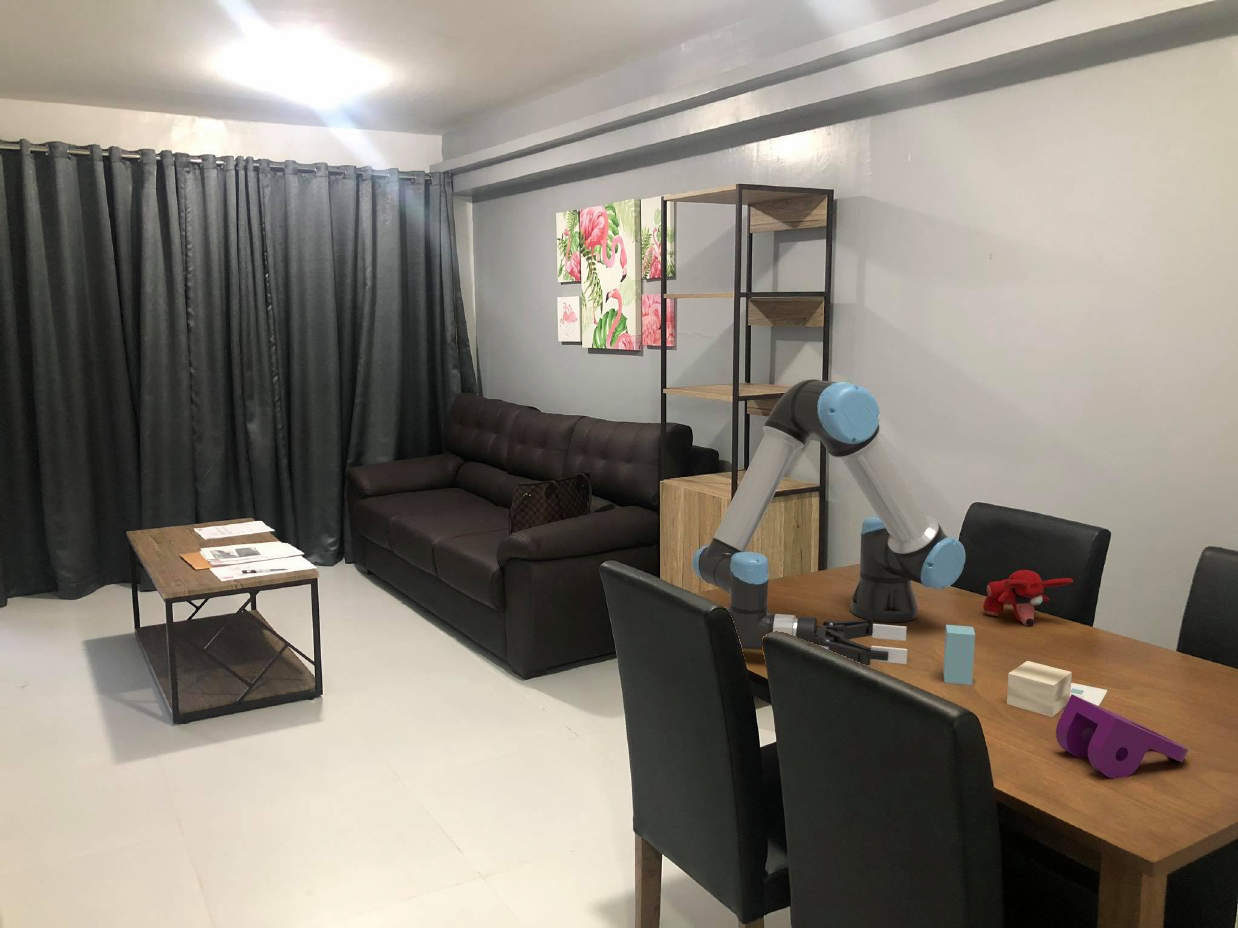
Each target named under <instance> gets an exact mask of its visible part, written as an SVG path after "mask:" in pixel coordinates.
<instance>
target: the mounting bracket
mask: <svg viewBox="0 0 1238 928" xmlns="http://www.w3.org/2000/svg"><path fill="white" fill-rule="evenodd" d="M1055 728H1056V729H1055V737H1056V741H1057V743H1058V745H1059V746H1060V747H1061V749H1062V750H1064V751H1065V752H1067V753H1069V754H1071V755H1072V756H1074V757H1075V758H1085V757H1088V761H1089V763H1090V765H1091V767H1093V768H1094V769H1095V770H1096V771H1097V772H1099V773H1101V774H1103V775H1104V776H1106V778H1110V779H1112V780H1113V779H1114V780H1115V779H1120V778H1128V777H1129V776H1131V775H1132V774H1133V773H1135V772H1136V770H1137V769H1138V768H1139V766H1140V765H1141V763H1142V761H1143V760H1144V757H1145V755H1146V753H1147V751H1148V750H1152V751H1155V752H1157V753H1160V754H1162V755H1164V756H1166V757H1168V758H1170V759H1173V760H1176V761H1178V762H1181V763H1183V762H1184V759H1185V757H1187V756H1186V755H1187V754H1188V752H1189V749H1188V748H1186V747H1185V746H1183V745H1181V744H1179V743H1178V742H1175V741H1174V740H1172V739H1170V738H1168V737H1166V736H1164V735H1162V734H1160V733H1158V732H1155V730H1152V729H1150V728H1147V727H1146V726H1143V725H1142V724H1140V723H1138V722H1135V721H1133V720H1131V719H1128V718H1127V717H1124V716H1122V715H1120V714H1117V713H1114V712H1112V711H1111V710H1108V709H1106V708H1103V707H1101V706H1100V705H1099V706H1097V705H1095V704H1093V703H1090V702H1088V701H1086V700H1084V699H1082V698H1079V697H1077V696H1075V695H1073V694H1072V695H1071V697H1070V699H1069V701H1068V703H1067V705H1066V707H1065V708H1063V711H1062V713H1061V715H1060V717H1059V719H1058V721H1057V724H1056V727H1055Z"/></svg>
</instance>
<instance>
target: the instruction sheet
mask: <svg viewBox="0 0 1238 928" xmlns="http://www.w3.org/2000/svg"><path fill="white" fill-rule="evenodd" d="M1107 692H1108V689H1103V688H1100V687H1099V688H1098V687H1094V686H1089V685H1085V684H1080V683H1075V682H1071V692H1070V697H1071V695H1072V694H1073V695H1075V696H1077V697H1079V698H1082V699H1084V700H1086V701H1088V702H1090V703H1093V704H1095V705H1097V706H1099V707H1100V704H1101V703H1102V701H1103V699H1104V698H1105V696H1106V694H1107Z"/></svg>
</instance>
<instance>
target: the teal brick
mask: <svg viewBox="0 0 1238 928" xmlns="http://www.w3.org/2000/svg"><path fill="white" fill-rule="evenodd" d="M944 634H945V638H944V651H943V668H942V670H943V673H942V675H943V682H944V683H946V684H957V685H968V686H973V677H974V676H973V675H974V663H975V662H974V661H975V645H976V644H975V643H976V632H975V629H974V626H965V625H954V624H945V633H944Z"/></svg>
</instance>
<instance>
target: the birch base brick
mask: <svg viewBox="0 0 1238 928" xmlns="http://www.w3.org/2000/svg"><path fill="white" fill-rule="evenodd" d="M1072 675H1073V673H1072V671H1069V670H1065V669H1061V668H1057V667H1053V666H1050V665H1045V664H1042V663H1037V662H1034V661H1029V660H1026V661H1025V662H1023V663H1022V664H1021V665H1019V666H1017V667H1016V668H1014V669H1013V670H1011V671H1010V672H1008V677H1007V690H1006V692H1007V695H1006V705H1008V706H1013V707H1016V708H1018V709H1022V710H1026V711H1029V712H1032V713H1036V714H1040V715H1042V716H1046V717H1049V718H1053V717H1054V716H1056V715H1057V714H1058V713H1059V712H1060V711H1062V710H1064V709H1065V707H1066V705H1067V703H1068V701H1069V699H1070V692H1071V683H1072Z"/></svg>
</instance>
